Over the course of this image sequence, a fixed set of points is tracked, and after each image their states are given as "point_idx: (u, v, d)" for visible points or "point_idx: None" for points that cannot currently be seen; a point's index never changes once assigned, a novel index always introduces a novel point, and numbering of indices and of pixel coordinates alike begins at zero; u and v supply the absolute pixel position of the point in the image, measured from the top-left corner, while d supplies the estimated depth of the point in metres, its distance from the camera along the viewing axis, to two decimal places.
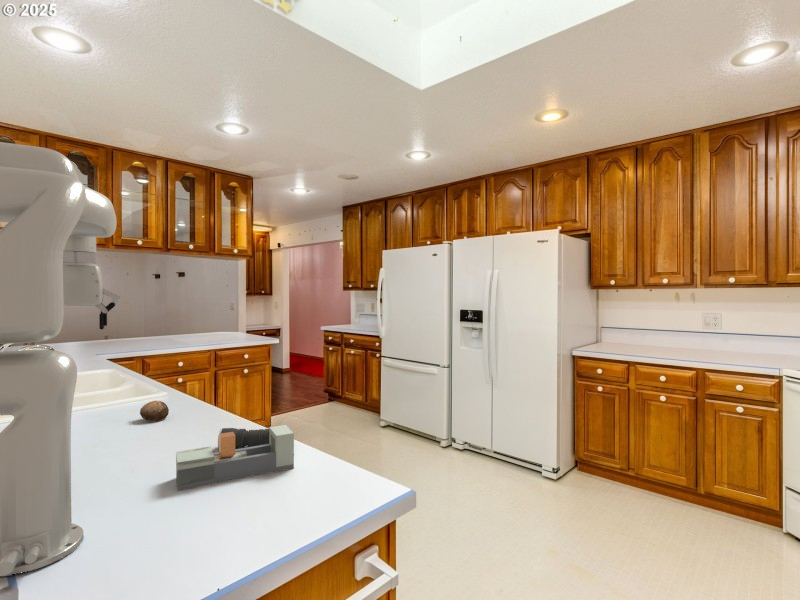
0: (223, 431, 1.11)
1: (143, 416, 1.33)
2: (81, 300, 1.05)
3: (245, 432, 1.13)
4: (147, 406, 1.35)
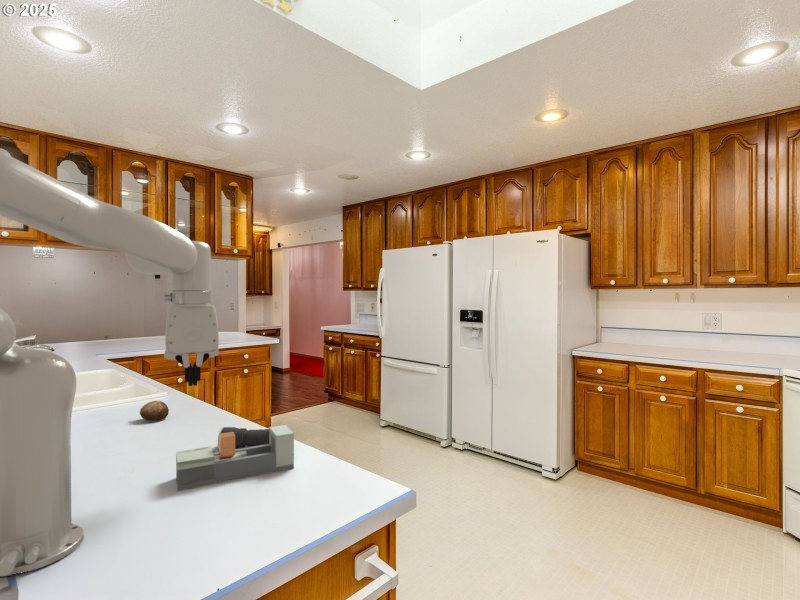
0: (223, 430, 1.12)
1: (143, 416, 1.33)
2: (198, 346, 0.91)
3: (245, 432, 1.13)
4: (147, 406, 1.35)
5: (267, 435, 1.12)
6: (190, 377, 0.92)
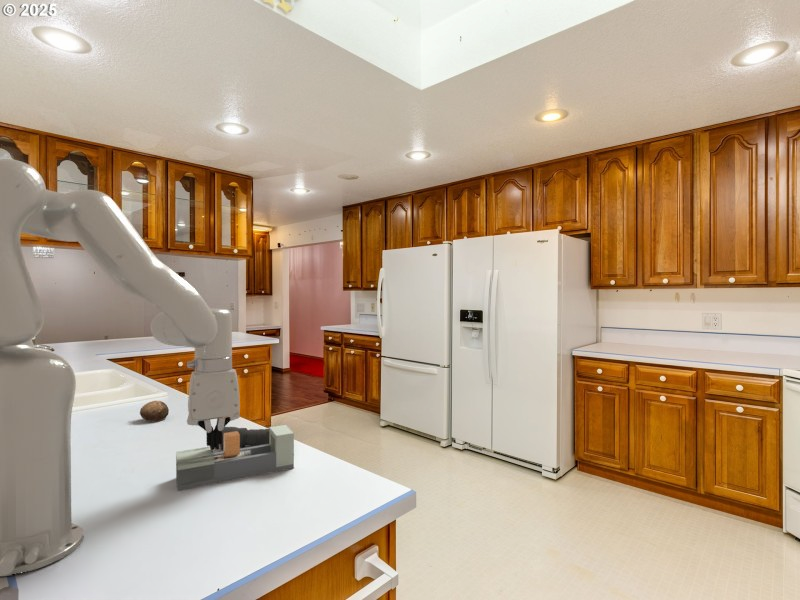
0: (224, 430, 1.13)
1: (143, 416, 1.33)
2: (220, 412, 0.93)
3: (245, 431, 1.13)
4: (147, 406, 1.35)
5: (267, 435, 1.12)
6: (212, 441, 0.94)
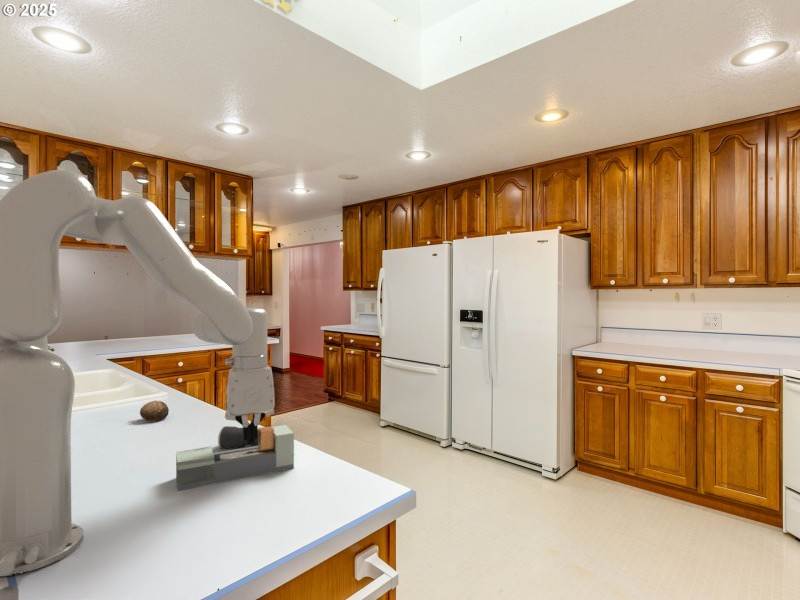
0: (224, 429, 1.13)
1: (143, 416, 1.33)
2: (257, 407, 0.97)
3: None
4: (147, 406, 1.35)
5: None
6: (249, 436, 0.98)
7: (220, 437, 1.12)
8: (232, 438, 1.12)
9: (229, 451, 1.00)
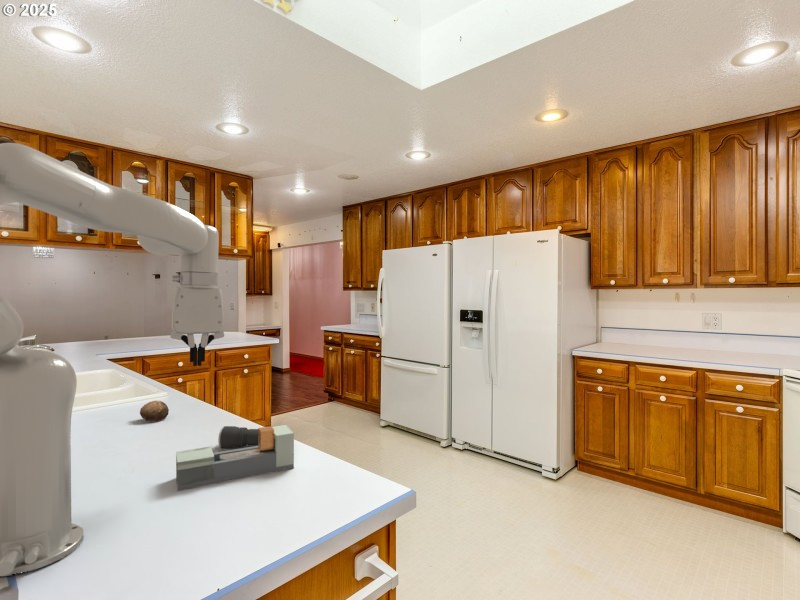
0: (224, 429, 1.13)
1: (143, 416, 1.33)
2: (203, 327, 0.93)
3: (245, 431, 1.14)
4: (147, 406, 1.35)
5: None
6: (195, 357, 0.93)
7: (220, 437, 1.12)
8: (233, 437, 1.12)
9: (229, 451, 1.00)
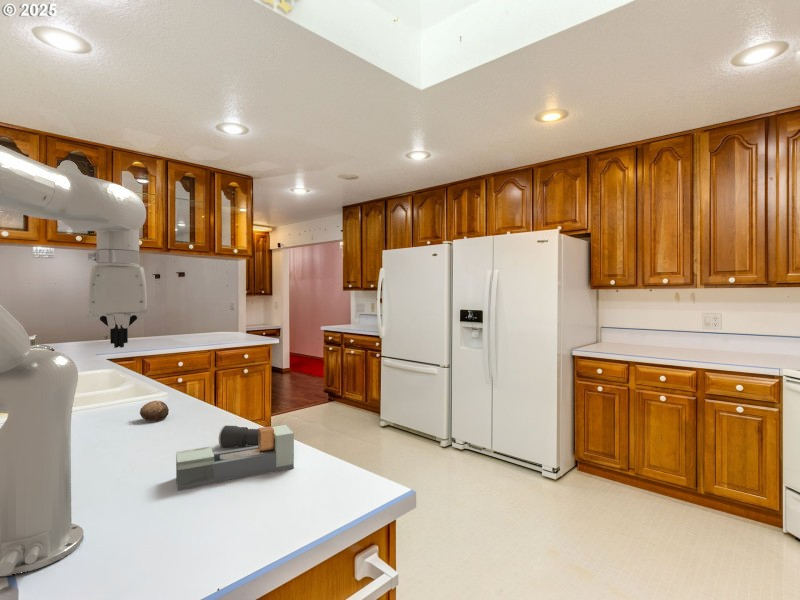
0: (224, 428, 1.14)
1: (143, 416, 1.33)
2: (123, 307, 0.89)
3: (245, 431, 1.14)
4: (147, 406, 1.35)
5: None
6: (115, 338, 0.90)
7: (220, 436, 1.12)
8: (232, 437, 1.12)
9: (229, 451, 1.00)
